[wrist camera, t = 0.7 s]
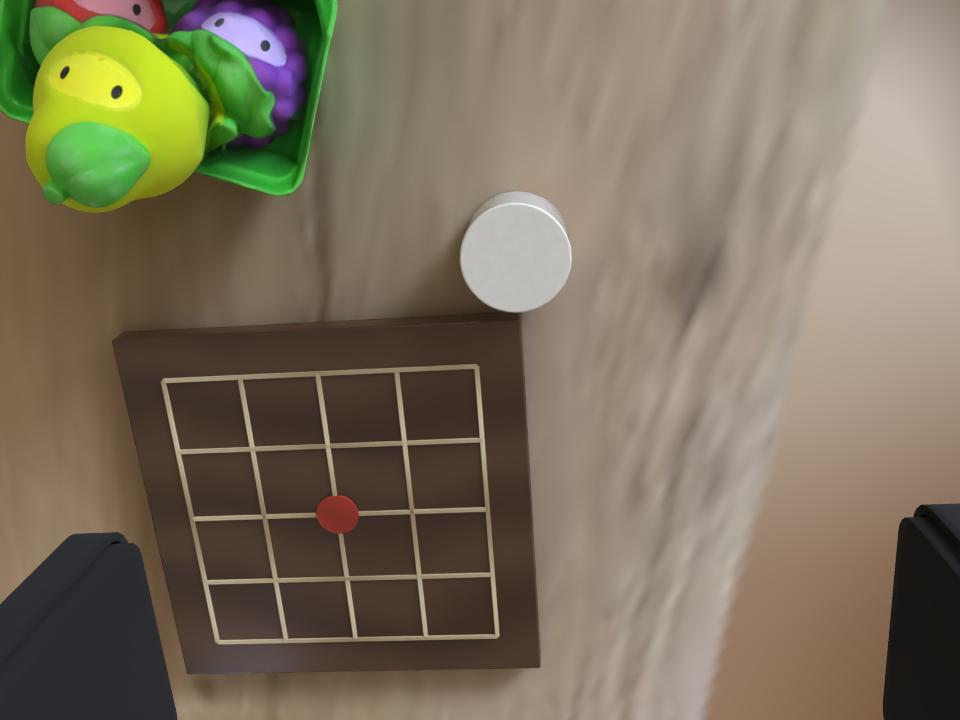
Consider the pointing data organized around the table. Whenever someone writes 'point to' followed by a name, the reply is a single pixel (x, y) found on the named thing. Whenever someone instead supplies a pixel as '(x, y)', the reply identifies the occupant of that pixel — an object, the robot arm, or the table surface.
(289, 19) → the fruit basket
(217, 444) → the board
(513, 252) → the white round puck
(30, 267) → the table surface
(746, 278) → the table surface
